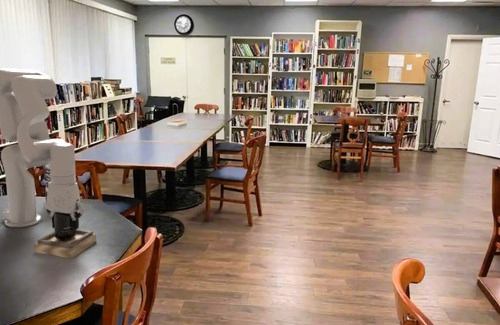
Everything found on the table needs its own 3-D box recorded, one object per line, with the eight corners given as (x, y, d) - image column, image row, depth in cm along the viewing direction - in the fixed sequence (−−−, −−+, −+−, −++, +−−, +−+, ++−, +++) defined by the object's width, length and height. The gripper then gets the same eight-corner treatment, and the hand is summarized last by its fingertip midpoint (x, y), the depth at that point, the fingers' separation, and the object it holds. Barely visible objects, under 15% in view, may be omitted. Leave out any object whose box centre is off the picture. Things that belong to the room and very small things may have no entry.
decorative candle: (71, 202, 179) (69, 150, 173) (60, 208, 169) (57, 154, 164) (53, 200, 179) (50, 148, 174) (40, 206, 170) (37, 152, 165)
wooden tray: (34, 252, 129) (33, 240, 128) (62, 236, 142) (61, 225, 141) (71, 258, 126) (71, 246, 125) (96, 241, 140) (95, 230, 139)
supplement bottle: (67, 241, 129) (66, 208, 127) (50, 239, 131) (48, 206, 128) (80, 234, 136) (79, 202, 133) (63, 231, 137) (62, 200, 135)
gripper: (32, 179, 127) (35, 228, 131) (79, 185, 124) (81, 235, 128) (48, 173, 134) (51, 221, 138) (93, 179, 131) (94, 227, 135)
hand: (65, 227), depth 133 cm, fingers closed on supplement bottle, 6 cm apart
